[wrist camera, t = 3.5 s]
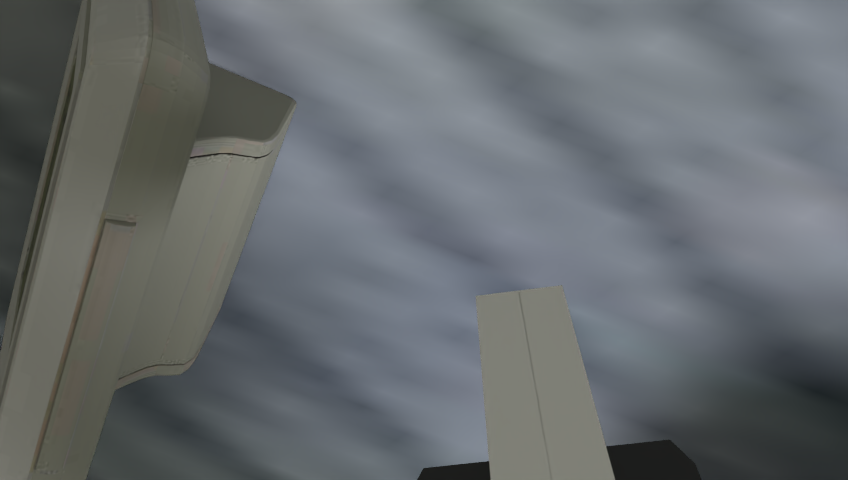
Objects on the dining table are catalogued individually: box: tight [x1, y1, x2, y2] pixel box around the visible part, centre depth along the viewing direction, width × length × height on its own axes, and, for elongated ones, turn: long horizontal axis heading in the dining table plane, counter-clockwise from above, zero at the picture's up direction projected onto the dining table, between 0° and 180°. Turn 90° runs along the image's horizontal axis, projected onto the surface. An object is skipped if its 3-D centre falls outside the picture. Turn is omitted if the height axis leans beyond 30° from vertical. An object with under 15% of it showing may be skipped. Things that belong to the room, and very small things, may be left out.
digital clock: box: [0, 0, 296, 480], centre depth 24 cm, size 16×9×11 cm, turn 145°
